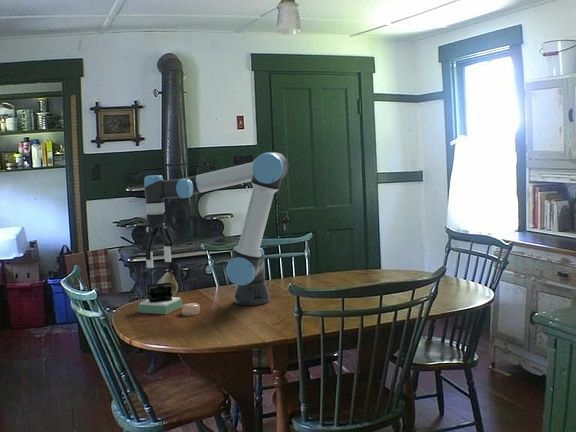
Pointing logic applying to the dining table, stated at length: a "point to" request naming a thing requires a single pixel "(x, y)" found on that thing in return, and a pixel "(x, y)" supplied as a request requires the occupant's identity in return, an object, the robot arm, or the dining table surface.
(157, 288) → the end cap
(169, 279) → the fruit
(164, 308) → the stand
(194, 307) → the pinkish tan egg
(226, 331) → the dining table surface
